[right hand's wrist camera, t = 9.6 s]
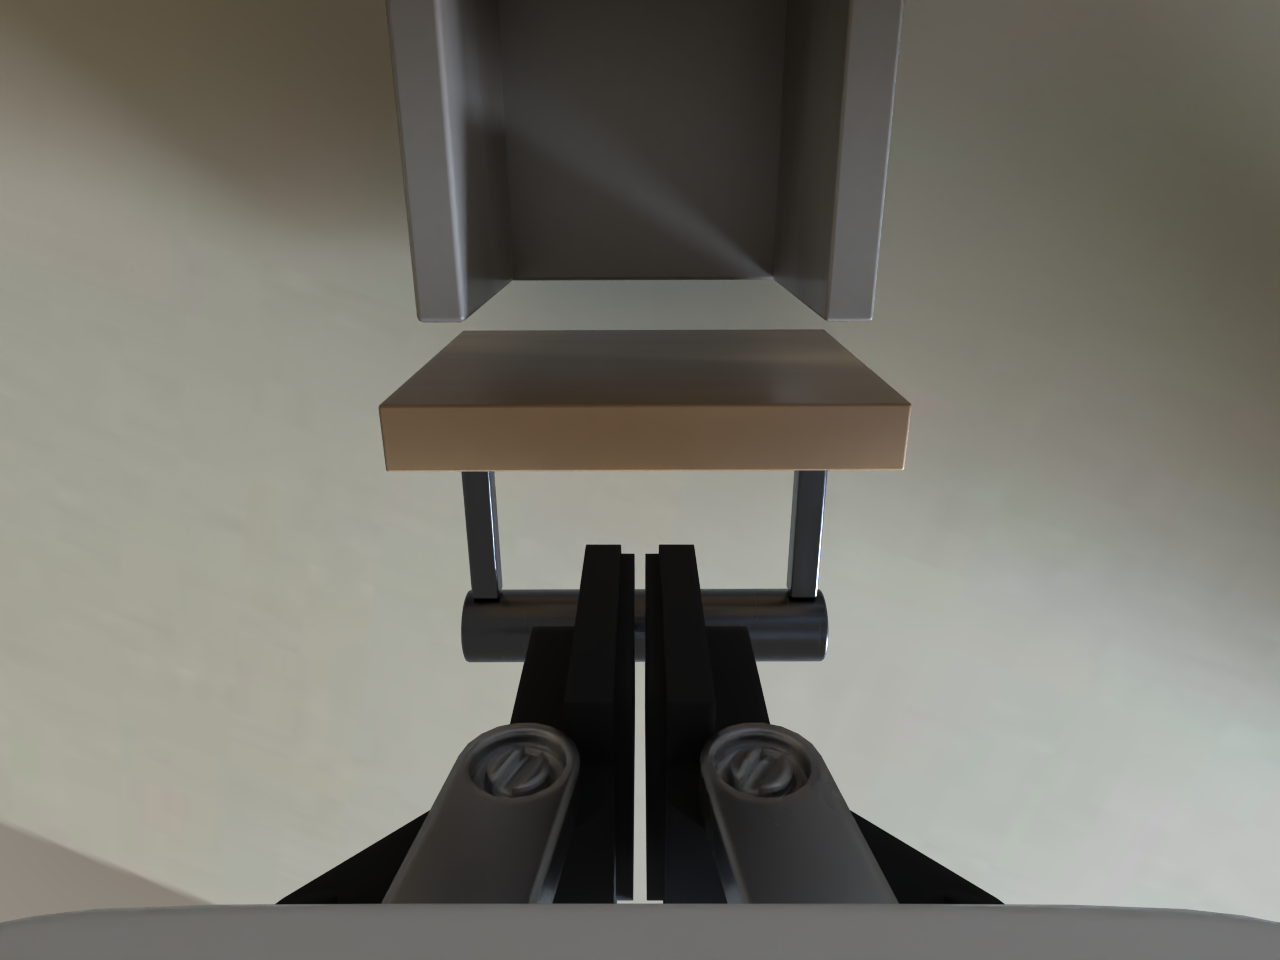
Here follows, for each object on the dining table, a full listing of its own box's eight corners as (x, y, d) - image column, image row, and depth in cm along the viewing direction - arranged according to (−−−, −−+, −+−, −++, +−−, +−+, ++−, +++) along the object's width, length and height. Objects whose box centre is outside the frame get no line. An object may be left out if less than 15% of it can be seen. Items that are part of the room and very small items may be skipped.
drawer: (805, 578, 22) (871, 742, 16) (482, 579, 22) (418, 744, 16) (880, -391, 15) (1057, -810, 9) (403, -390, 15) (228, -804, 9)
